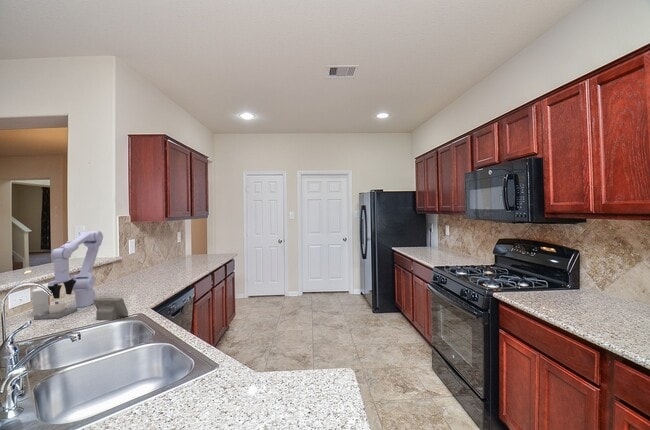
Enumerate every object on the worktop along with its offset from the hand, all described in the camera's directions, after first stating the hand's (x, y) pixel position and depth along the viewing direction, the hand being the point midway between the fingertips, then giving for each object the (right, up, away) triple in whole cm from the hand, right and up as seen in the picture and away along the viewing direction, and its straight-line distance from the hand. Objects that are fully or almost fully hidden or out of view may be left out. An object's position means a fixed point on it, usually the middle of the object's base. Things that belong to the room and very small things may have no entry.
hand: (62, 296), depth 156 cm
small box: (-14, -10, +3) cm, 18 cm away
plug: (-2, -9, -1) cm, 9 cm away
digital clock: (+31, -9, -7) cm, 33 cm away
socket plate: (-2, -10, -1) cm, 10 cm away
